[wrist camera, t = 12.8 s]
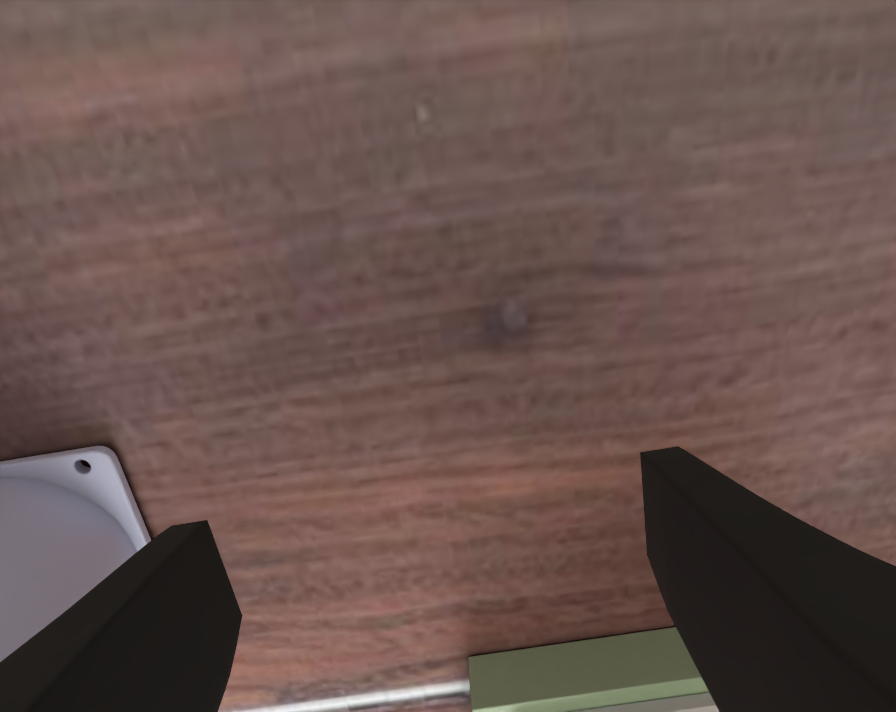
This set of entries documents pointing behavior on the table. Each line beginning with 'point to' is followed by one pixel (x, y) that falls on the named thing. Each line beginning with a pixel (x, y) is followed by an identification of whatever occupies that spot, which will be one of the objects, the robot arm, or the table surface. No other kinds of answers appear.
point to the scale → (592, 677)
